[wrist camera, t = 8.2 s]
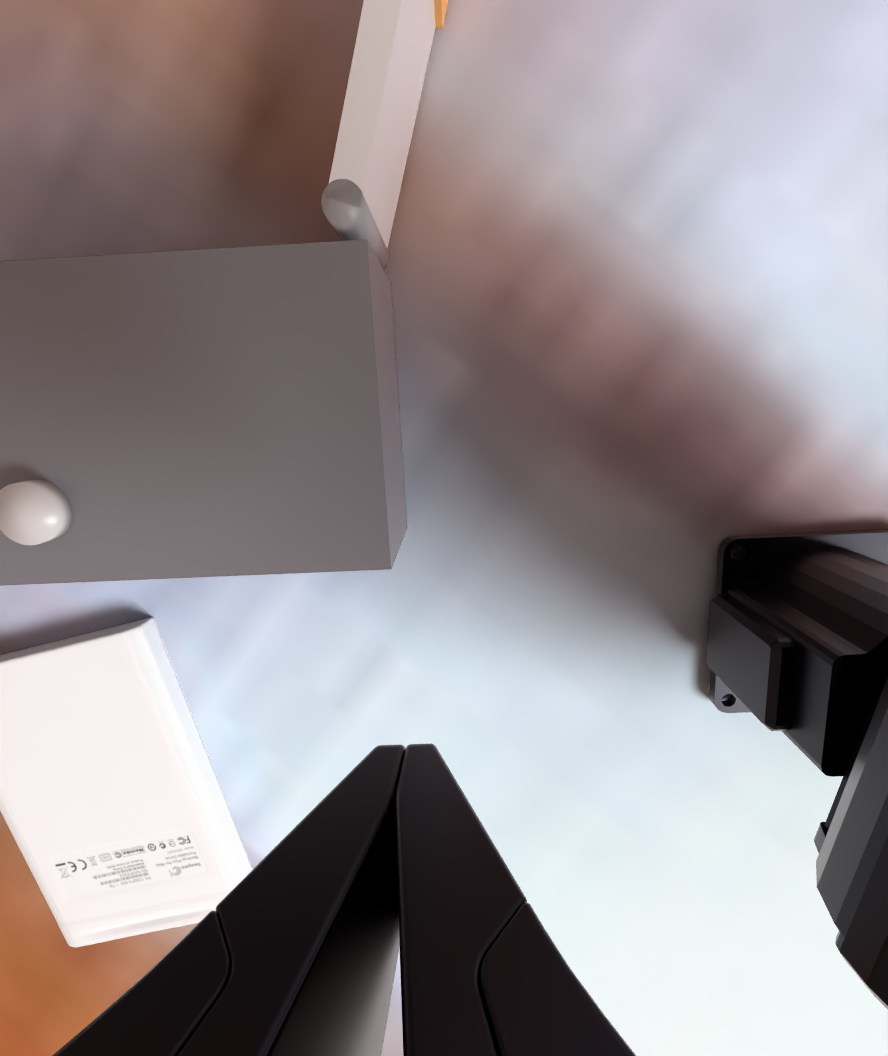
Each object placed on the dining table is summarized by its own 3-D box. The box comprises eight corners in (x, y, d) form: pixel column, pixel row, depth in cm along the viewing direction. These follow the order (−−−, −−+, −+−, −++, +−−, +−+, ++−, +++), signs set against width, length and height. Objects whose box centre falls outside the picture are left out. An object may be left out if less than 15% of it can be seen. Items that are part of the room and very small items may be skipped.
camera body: (391, 283, 18) (362, 231, 12) (406, 527, 20) (388, 576, 14) (-24, 307, 18) (-227, 266, 13) (28, 544, 20) (-132, 597, 15)
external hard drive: (161, 611, 21) (266, 880, 24) (-35, 660, 22) (87, 917, 24) (137, 628, 20) (252, 915, 22) (-74, 680, 20) (61, 953, 23)
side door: (387, 277, 18) (327, 167, 9) (350, 267, 18) (257, 149, 9) (452, -19, 16) (450, -476, 8) (412, -31, 16) (364, -503, 8)
